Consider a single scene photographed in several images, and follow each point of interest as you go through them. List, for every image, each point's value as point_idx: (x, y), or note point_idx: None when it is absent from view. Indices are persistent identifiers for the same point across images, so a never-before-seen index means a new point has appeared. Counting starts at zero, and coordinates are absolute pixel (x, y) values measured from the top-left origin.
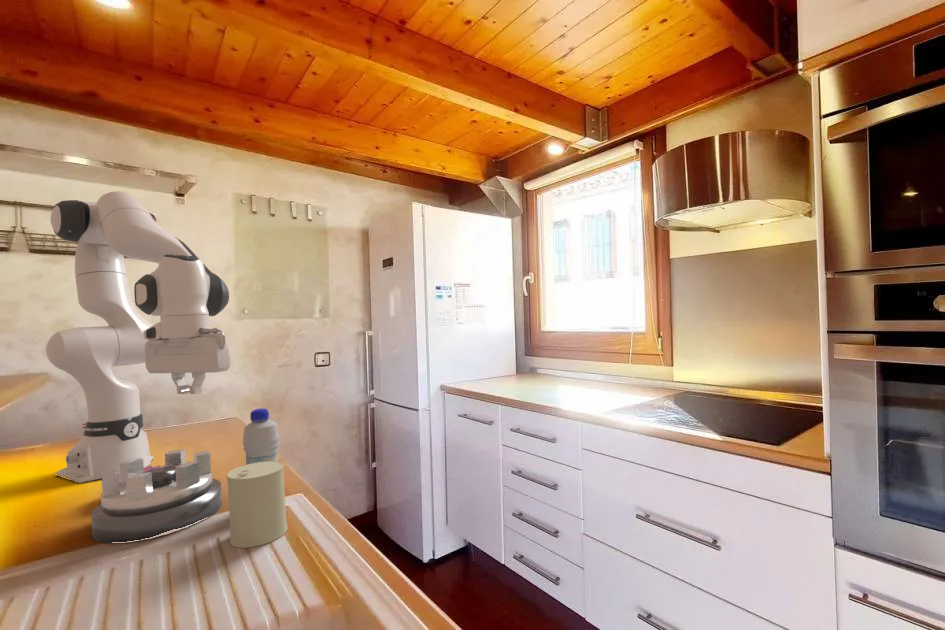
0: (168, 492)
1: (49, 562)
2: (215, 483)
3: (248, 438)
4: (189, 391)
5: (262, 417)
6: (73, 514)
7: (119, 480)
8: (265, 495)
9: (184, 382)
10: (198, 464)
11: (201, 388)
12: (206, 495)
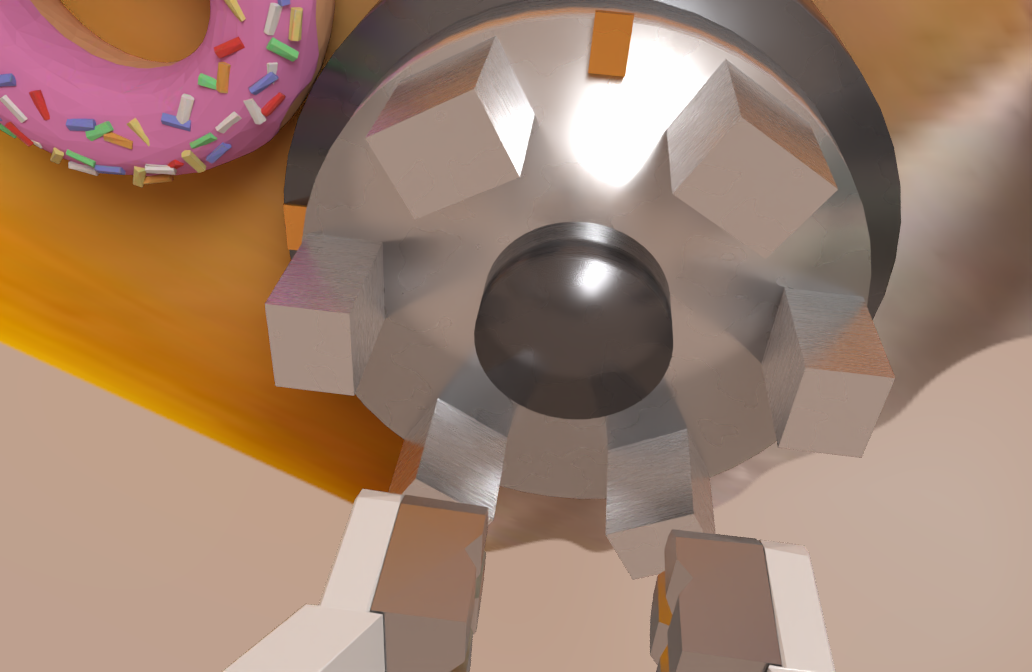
0: (769, 416)
1: (497, 501)
2: (797, 50)
3: None
4: (655, 653)
5: None
6: (77, 210)
7: (16, 66)
8: None
9: (340, 666)
10: (889, 370)
11: (820, 603)
12: (870, 232)
